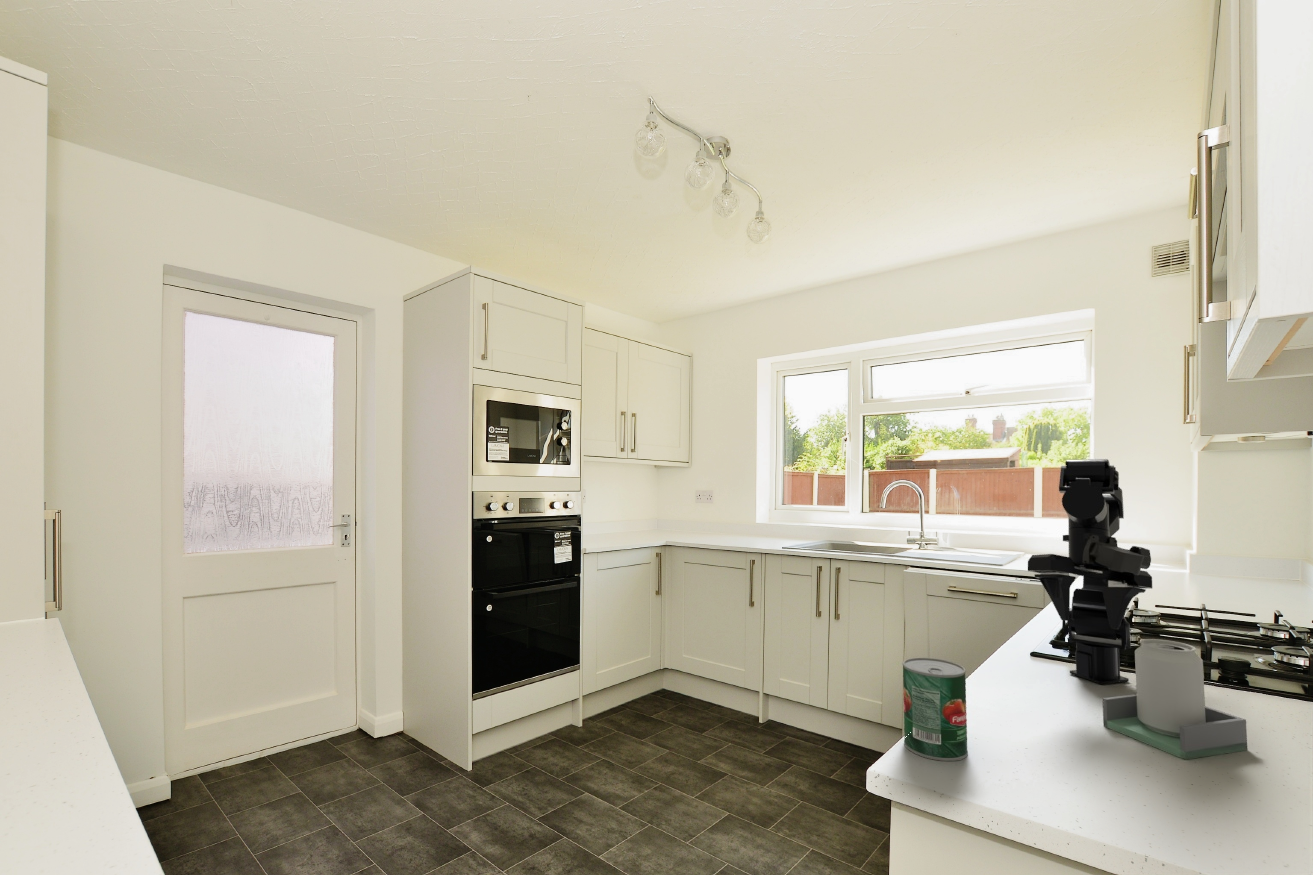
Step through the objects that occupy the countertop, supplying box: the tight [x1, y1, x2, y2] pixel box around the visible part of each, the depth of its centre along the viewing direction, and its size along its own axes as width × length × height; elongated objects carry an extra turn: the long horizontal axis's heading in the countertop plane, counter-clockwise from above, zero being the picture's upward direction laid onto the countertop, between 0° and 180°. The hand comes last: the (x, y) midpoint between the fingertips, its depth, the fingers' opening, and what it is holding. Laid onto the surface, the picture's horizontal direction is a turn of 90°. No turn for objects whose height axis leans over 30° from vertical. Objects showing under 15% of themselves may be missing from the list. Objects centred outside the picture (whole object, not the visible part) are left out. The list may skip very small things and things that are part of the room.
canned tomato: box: [901, 657, 969, 762], centre depth 85 cm, size 8×8×11 cm
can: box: [1134, 638, 1206, 738], centre depth 88 cm, size 8×8×12 cm
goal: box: [1101, 693, 1248, 761], centre depth 88 cm, size 11×11×4 cm
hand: (1089, 624), depth 102 cm, fingers open, 9 cm apart
